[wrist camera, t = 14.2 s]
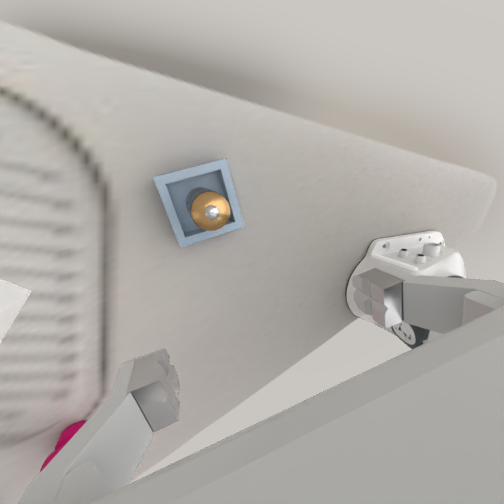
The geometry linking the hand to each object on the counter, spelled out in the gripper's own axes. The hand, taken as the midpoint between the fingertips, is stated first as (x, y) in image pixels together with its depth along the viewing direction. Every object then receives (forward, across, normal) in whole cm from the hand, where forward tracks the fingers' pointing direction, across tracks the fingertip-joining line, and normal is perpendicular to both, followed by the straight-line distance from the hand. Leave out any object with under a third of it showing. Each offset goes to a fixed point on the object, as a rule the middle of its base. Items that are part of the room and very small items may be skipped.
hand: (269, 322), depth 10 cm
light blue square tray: (+25, 0, -3) cm, 25 cm away
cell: (+24, 0, -3) cm, 24 cm away
